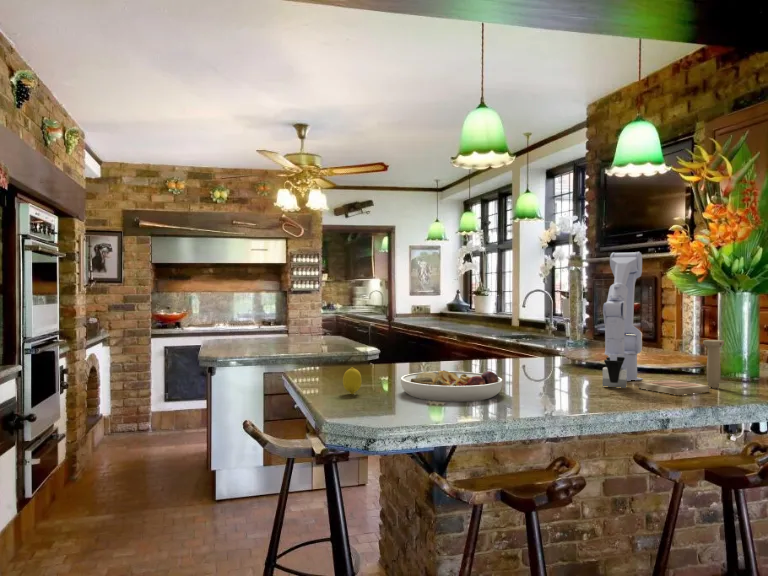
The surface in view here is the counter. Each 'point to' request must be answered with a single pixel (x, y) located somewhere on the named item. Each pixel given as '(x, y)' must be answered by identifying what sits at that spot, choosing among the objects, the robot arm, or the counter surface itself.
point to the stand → (674, 387)
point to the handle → (713, 362)
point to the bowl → (452, 385)
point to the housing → (621, 381)
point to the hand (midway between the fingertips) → (614, 381)
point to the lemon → (352, 380)
